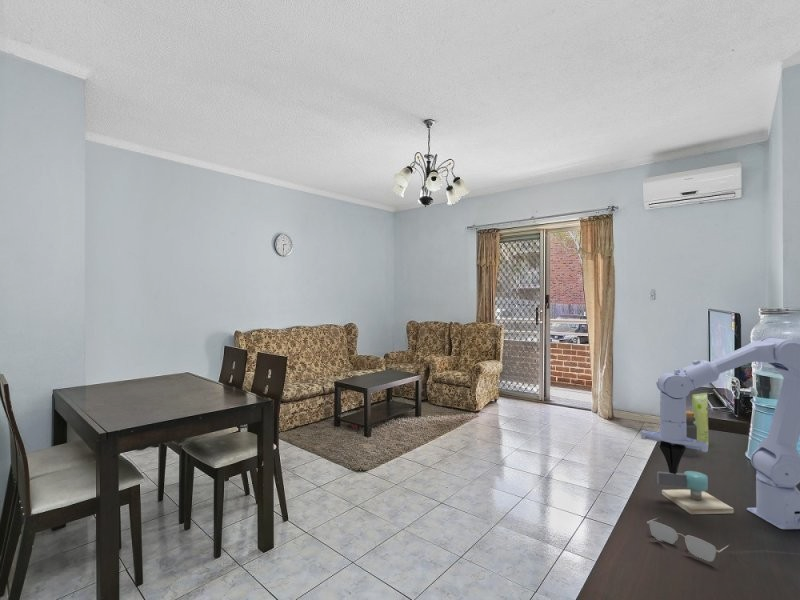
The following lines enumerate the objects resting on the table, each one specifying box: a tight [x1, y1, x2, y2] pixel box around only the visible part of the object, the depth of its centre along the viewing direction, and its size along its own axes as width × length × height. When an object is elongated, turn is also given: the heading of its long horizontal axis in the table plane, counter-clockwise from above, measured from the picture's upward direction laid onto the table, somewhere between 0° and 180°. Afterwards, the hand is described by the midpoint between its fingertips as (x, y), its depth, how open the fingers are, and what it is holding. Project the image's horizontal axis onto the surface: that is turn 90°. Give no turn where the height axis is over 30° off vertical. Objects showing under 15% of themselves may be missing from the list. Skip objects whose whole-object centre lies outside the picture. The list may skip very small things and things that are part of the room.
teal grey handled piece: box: [656, 470, 709, 492], centre depth 111 cm, size 12×5×3 cm, turn 77°
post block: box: [661, 488, 735, 515], centre depth 110 cm, size 11×11×4 cm
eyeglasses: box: [646, 516, 732, 563], centre depth 92 cm, size 14×8×4 cm, turn 35°
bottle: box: [682, 409, 698, 458], centre depth 145 cm, size 6×6×15 cm
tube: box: [691, 392, 710, 447], centre depth 153 cm, size 6×5×20 cm
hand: (673, 472), depth 109 cm, fingers closed
